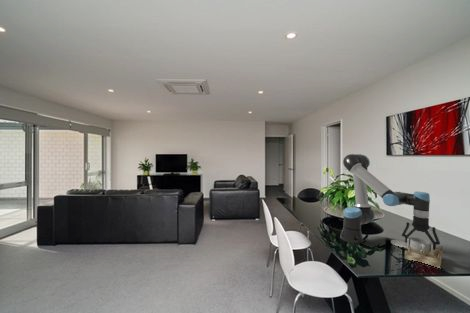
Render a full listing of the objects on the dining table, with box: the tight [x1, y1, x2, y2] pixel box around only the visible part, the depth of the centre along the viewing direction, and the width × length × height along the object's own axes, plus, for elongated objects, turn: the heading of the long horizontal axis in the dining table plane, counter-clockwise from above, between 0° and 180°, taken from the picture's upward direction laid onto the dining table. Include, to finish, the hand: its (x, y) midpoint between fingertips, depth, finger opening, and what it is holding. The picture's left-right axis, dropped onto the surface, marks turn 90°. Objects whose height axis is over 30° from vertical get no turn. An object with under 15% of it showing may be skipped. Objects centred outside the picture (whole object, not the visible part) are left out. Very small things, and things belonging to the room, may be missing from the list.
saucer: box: [390, 239, 407, 249], centre depth 154 cm, size 12×12×2 cm
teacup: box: [408, 236, 432, 255], centre depth 135 cm, size 14×11×8 cm
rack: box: [404, 245, 443, 269], centre depth 134 cm, size 16×19×8 cm
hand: (419, 251), depth 135 cm, fingers closed on teacup, 11 cm apart
